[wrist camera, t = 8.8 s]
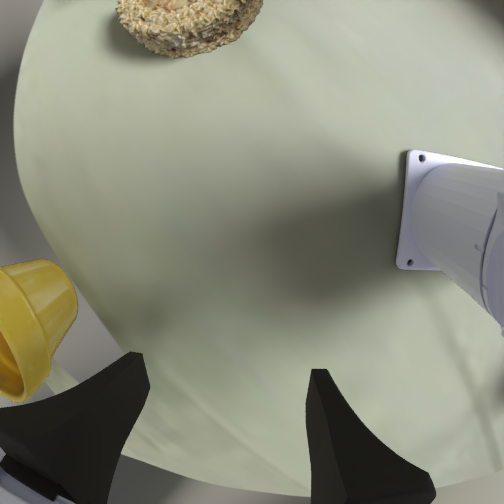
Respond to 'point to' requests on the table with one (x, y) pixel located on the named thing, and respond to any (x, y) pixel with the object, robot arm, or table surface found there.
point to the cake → (186, 23)
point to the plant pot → (32, 323)
